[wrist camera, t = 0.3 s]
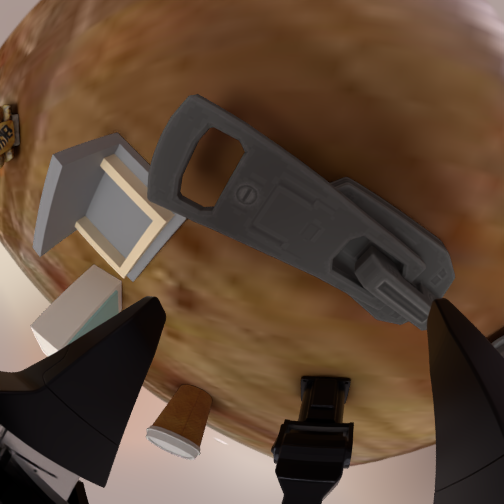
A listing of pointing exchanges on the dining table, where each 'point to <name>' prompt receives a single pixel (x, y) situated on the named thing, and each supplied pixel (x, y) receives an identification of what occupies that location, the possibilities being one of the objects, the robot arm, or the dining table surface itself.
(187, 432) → the disposable coffee cup
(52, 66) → the dining table surface
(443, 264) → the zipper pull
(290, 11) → the dining table surface
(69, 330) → the white cabinet
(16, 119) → the decorative figurine
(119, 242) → the board
